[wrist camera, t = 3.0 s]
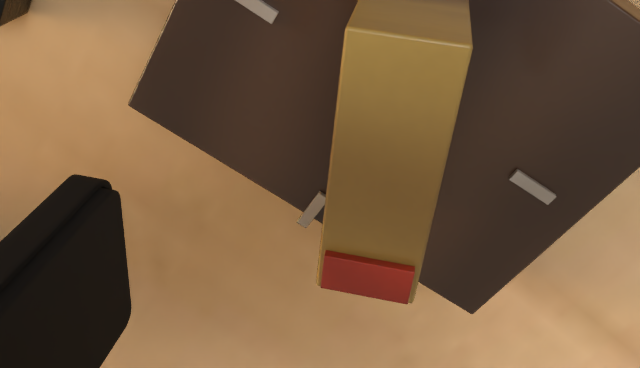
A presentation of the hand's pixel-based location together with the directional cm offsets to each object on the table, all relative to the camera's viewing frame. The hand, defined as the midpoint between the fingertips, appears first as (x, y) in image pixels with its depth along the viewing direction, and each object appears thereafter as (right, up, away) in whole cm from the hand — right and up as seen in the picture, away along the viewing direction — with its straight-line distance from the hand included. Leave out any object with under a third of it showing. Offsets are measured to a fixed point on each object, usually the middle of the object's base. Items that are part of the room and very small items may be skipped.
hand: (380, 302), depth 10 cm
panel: (+2, +6, +9) cm, 11 cm away
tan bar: (+1, +4, +7) cm, 8 cm away
